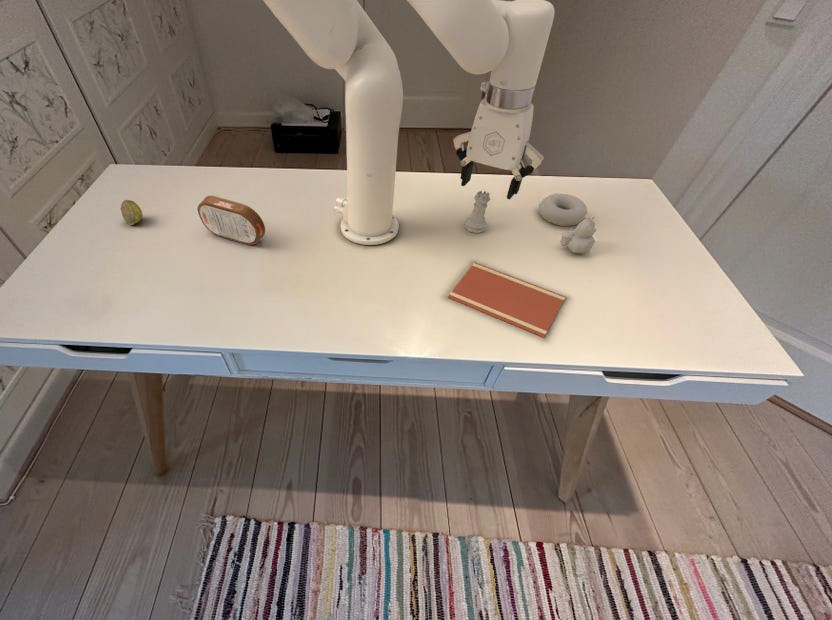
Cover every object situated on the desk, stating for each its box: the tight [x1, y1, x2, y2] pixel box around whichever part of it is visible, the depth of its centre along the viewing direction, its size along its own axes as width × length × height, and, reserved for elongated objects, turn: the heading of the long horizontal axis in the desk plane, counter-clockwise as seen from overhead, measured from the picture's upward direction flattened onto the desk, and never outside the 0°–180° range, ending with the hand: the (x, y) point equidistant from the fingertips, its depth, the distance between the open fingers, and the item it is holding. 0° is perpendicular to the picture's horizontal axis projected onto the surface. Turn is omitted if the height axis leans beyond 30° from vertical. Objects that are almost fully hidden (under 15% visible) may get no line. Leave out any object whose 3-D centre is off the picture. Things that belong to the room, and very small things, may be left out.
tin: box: [197, 195, 266, 246], centre depth 87 cm, size 15×3×8 cm, turn 65°
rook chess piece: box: [464, 190, 491, 234], centre depth 89 cm, size 4×4×8 cm
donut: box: [538, 193, 588, 227], centre depth 93 cm, size 10×4×10 cm
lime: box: [120, 199, 144, 226], centre depth 92 cm, size 4×5×5 cm
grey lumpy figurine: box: [559, 215, 597, 254], centre depth 84 cm, size 5×7×8 cm
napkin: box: [447, 262, 566, 339], centre depth 78 cm, size 18×12×1 cm, turn 56°
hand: (487, 189), depth 85 cm, fingers open, 9 cm apart
